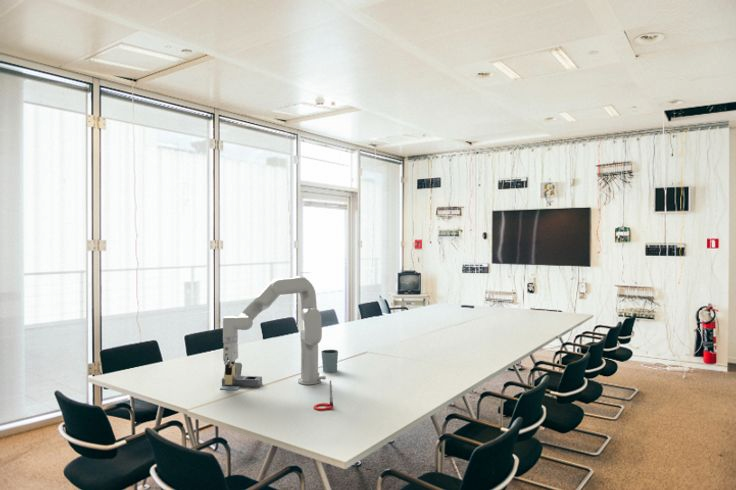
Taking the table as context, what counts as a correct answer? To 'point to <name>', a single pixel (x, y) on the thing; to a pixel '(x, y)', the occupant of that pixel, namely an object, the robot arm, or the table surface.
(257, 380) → the rail
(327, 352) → the grey-green cup
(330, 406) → the tow hook
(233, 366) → the brass peg
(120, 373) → the table surface
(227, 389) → the rubber mat
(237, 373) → the electrical switch
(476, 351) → the table surface
